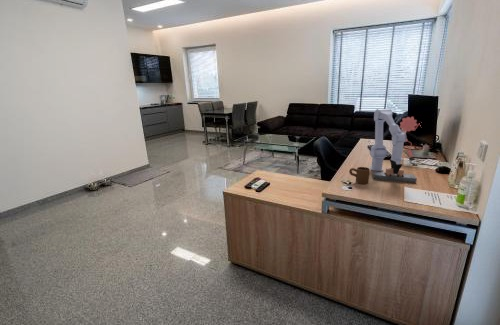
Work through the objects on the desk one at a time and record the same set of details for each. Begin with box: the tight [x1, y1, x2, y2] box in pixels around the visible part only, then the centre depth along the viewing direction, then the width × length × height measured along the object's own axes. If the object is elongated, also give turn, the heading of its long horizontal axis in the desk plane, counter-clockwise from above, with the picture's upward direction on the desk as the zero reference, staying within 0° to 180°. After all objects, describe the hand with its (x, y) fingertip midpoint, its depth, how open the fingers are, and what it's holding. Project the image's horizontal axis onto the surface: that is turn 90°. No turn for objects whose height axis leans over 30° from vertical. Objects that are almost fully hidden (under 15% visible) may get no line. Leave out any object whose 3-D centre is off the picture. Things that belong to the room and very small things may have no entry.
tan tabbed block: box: [385, 167, 405, 177], centre depth 164 cm, size 3×10×7 cm, turn 70°
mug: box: [348, 166, 371, 185], centre depth 161 cm, size 12×8×9 cm, turn 70°
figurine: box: [399, 116, 421, 157], centre depth 209 cm, size 15×26×35 cm, turn 69°
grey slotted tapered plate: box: [372, 171, 418, 184], centre depth 165 cm, size 8×24×3 cm, turn 70°
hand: (394, 172), depth 164 cm, fingers open, 7 cm apart
